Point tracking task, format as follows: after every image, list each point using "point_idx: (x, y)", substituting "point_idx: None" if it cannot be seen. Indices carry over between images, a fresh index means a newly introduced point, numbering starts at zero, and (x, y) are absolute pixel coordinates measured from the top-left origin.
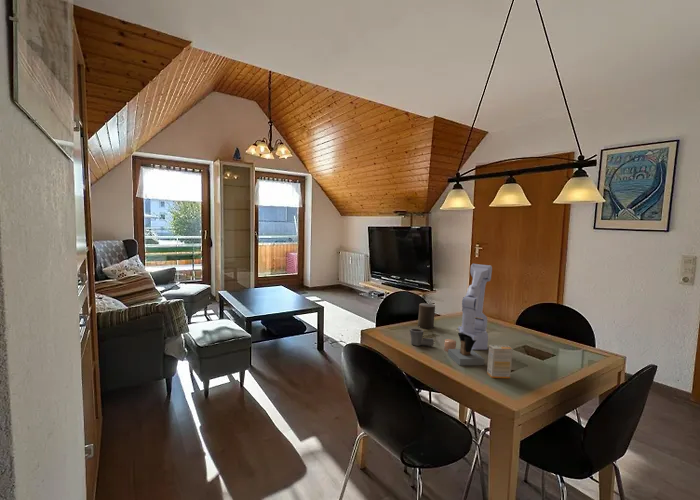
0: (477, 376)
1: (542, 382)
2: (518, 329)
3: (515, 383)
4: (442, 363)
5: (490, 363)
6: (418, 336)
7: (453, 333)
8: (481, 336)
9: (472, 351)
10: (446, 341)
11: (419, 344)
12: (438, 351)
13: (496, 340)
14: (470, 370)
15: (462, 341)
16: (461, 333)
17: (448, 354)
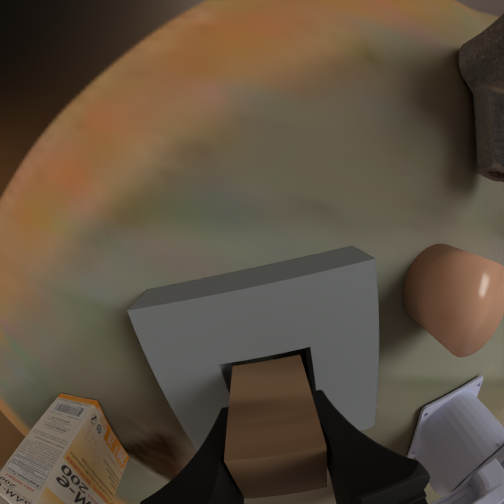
0: (45, 339)
1: (121, 495)
2: None
3: None
4: (158, 156)
5: (44, 434)
6: (498, 47)
7: None
8: (443, 480)
9: None
10: (477, 271)
11: (467, 77)
12: (414, 186)
13: None
14: (96, 334)
15: (284, 454)
16: (396, 502)
17: (345, 250)
